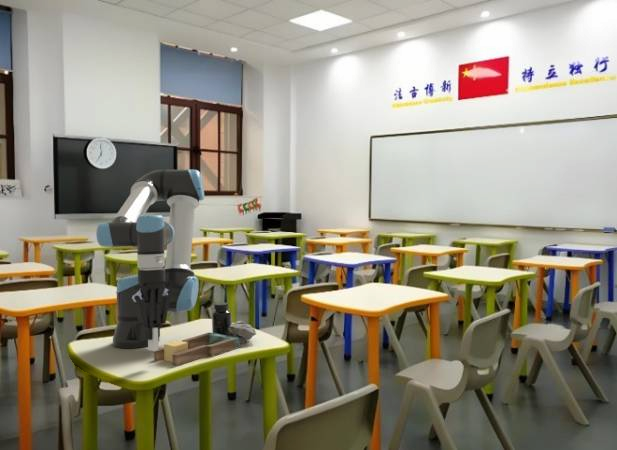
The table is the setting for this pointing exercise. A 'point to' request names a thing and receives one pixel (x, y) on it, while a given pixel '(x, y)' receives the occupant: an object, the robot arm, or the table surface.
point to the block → (174, 349)
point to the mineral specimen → (241, 331)
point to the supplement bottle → (221, 319)
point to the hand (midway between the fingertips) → (153, 350)
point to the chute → (201, 348)
